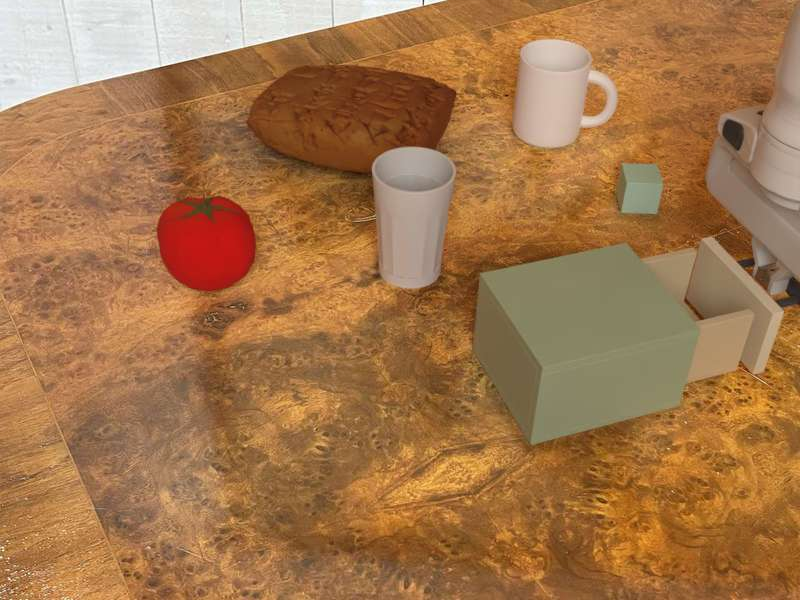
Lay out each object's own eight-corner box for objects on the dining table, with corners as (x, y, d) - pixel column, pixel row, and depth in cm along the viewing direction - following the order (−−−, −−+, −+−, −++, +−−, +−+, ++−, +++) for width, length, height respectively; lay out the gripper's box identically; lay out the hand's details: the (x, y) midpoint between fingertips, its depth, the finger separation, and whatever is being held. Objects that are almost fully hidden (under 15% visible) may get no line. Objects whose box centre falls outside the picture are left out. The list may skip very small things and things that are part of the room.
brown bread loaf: (465, 137, 128) (470, 77, 123) (410, 212, 116) (413, 149, 111) (301, 96, 134) (299, 37, 129) (232, 163, 122) (227, 101, 117)
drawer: (741, 285, 106) (759, 225, 102) (811, 359, 98) (835, 299, 93) (573, 323, 101) (584, 263, 96) (633, 406, 93) (648, 344, 88)
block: (651, 193, 120) (657, 163, 117) (657, 214, 117) (664, 184, 114) (615, 192, 120) (621, 162, 117) (620, 213, 117) (626, 182, 114)
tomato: (227, 317, 102) (220, 247, 96) (138, 285, 105) (127, 215, 99) (277, 263, 108) (273, 195, 103) (192, 235, 111) (184, 167, 106)
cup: (354, 264, 108) (354, 164, 101) (413, 235, 112) (418, 137, 105) (405, 304, 104) (409, 203, 96) (465, 273, 108) (474, 173, 100)
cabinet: (610, 317, 103) (626, 242, 97) (679, 406, 94) (701, 329, 88) (472, 349, 99) (479, 273, 93) (530, 445, 90) (542, 367, 84)
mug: (613, 125, 131) (627, 48, 124) (606, 160, 125) (621, 81, 118) (517, 110, 133) (526, 34, 126) (505, 144, 127) (514, 66, 120)
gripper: (924, 219, 83) (870, 350, 92) (768, 94, 97) (734, 218, 106) (857, 235, 81) (809, 366, 90) (708, 106, 96) (680, 230, 105)
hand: (768, 285), depth 98 cm, fingers closed
